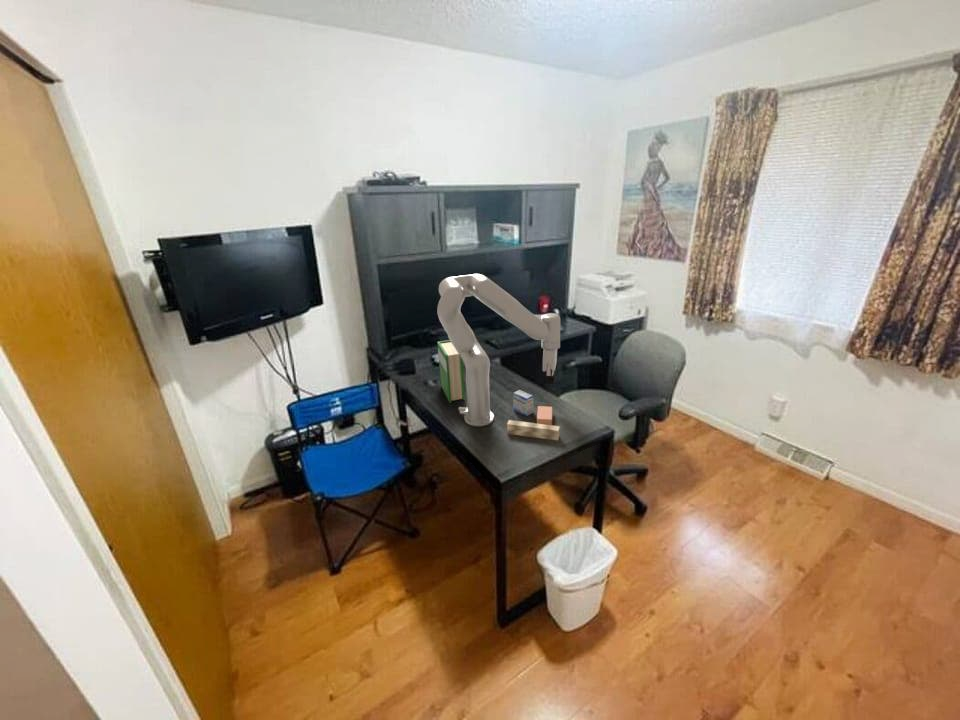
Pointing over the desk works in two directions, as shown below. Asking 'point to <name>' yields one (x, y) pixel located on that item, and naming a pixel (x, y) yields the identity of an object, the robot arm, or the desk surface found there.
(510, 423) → the board
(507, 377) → the desk surface
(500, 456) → the desk surface
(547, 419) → the block
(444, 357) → the hardback book
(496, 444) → the desk surface
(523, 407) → the medicine box
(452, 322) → the robot arm
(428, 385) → the desk surface
